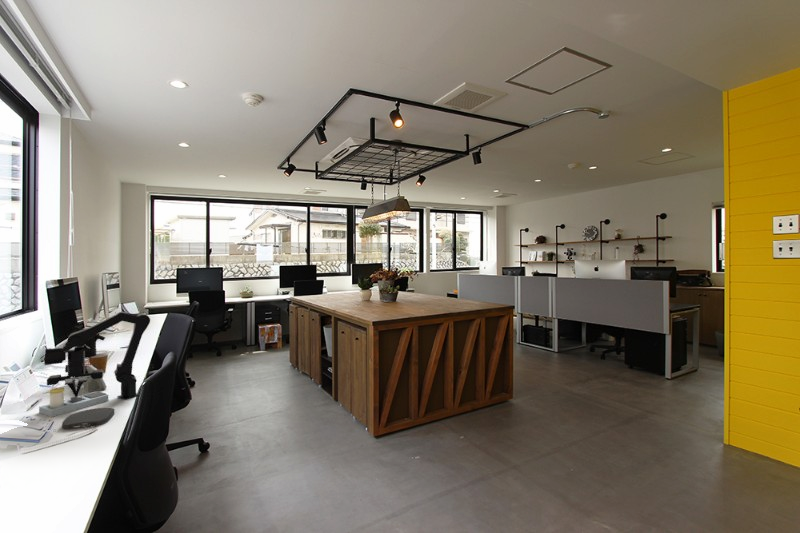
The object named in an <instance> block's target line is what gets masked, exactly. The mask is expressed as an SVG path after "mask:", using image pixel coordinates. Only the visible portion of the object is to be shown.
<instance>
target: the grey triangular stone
mask: <svg viewBox="0 0 800 533" xmlns="http://www.w3.org/2000/svg"><path fill="white" fill-rule="evenodd" d="M86 366H87V365H86ZM86 369H87V371H88V373H92V371H93V370H97V369H96V368H95V367H93V366H92V365H88V366H87V367H86ZM83 388H84V389H85V390H86V391H87V392H89V393H90V392H95V391H97V390H99V391H100V390H101V391H104V390H106V389H107V385H106V382H105V380H104V377H103V378H99V379H93V378H91V377H88V379H87V381H86V382H84V383H83Z"/></svg>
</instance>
